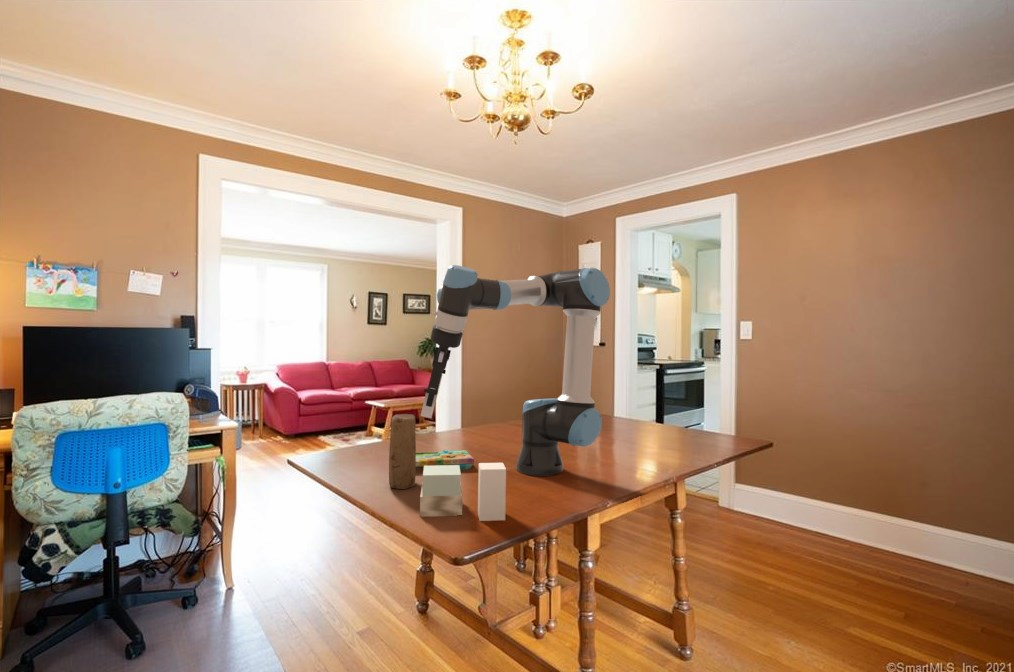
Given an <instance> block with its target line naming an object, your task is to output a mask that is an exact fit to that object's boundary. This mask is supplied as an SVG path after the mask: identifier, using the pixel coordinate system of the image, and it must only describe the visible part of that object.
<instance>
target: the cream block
mask: <svg viewBox="0 0 1014 672" xmlns="http://www.w3.org/2000/svg"><path fill="white" fill-rule="evenodd" d="M477 483H478V485H477V486H478V487H477V515H478V519H479V522H491V521H492V522H493V521H496V522H497V521H506V496H507V495H506V492H507V490H506V489H507V468H506V466H505V464H504V462H479V463H478V480H477Z"/></svg>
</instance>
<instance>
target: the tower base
mask: <svg viewBox="0 0 1014 672" xmlns="http://www.w3.org/2000/svg"><path fill="white" fill-rule="evenodd" d="M420 489H421V490H420V496H419V517H421V518H423V517H424V518H425V517H429V518H430V517H453V516H454V517H457V515H462V516H463V490H462V486H461V487H460V496H422V493H423V483H422V484H421V488H420Z"/></svg>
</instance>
